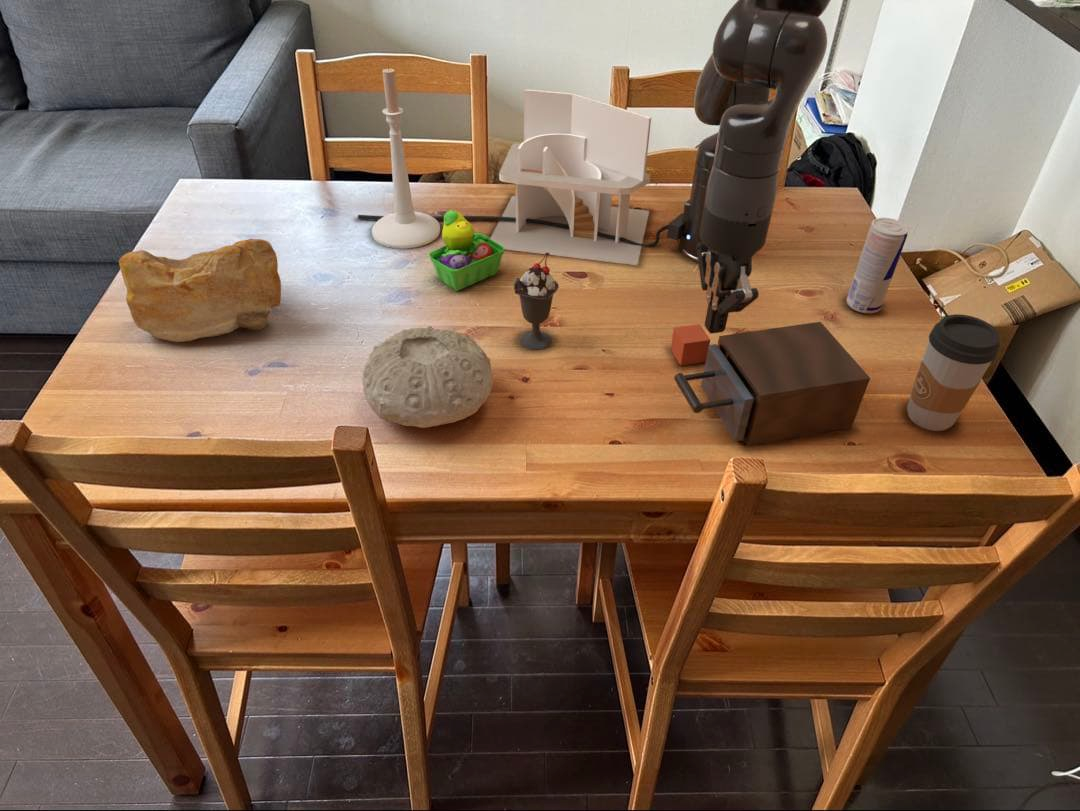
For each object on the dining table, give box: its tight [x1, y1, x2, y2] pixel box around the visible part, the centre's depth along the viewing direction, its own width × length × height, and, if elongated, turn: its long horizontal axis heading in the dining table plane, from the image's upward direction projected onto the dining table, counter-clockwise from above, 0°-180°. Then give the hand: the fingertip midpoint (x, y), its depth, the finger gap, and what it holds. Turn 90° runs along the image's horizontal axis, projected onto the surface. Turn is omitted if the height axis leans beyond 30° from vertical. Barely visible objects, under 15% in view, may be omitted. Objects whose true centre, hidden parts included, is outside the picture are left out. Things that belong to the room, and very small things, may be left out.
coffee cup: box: [906, 314, 1001, 432], centre depth 106 cm, size 8×8×15 cm
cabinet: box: [717, 321, 871, 448], centre depth 109 cm, size 16×13×9 cm
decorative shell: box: [361, 326, 493, 429], centre depth 108 cm, size 18×18×10 cm
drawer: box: [673, 343, 758, 442], centre depth 108 cm, size 20×12×7 cm, turn 104°
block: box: [670, 323, 711, 366], centre depth 119 cm, size 4×4×4 cm
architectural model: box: [489, 89, 652, 266], centre depth 142 cm, size 28×21×23 cm
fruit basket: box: [428, 209, 506, 292], centre depth 133 cm, size 11×9×11 cm
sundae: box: [513, 253, 560, 351], centre depth 118 cm, size 7×7×15 cm
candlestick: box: [371, 66, 441, 250], centre depth 139 cm, size 13×13×30 cm
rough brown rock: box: [118, 238, 282, 343], centre depth 123 cm, size 23×17×15 cm
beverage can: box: [846, 217, 910, 314], centre depth 127 cm, size 6×6×15 cm
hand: (714, 329), depth 99 cm, fingers closed
